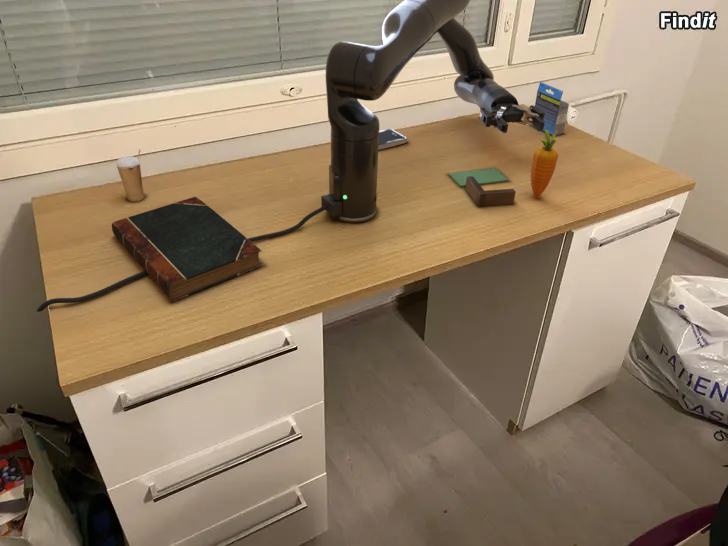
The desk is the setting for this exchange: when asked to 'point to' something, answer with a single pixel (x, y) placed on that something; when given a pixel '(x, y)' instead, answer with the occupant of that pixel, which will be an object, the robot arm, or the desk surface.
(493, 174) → the rag
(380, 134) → the smartphone
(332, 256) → the desk surface
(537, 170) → the carrot
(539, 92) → the label tape box
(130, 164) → the milkshake
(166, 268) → the book
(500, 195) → the corner stop
